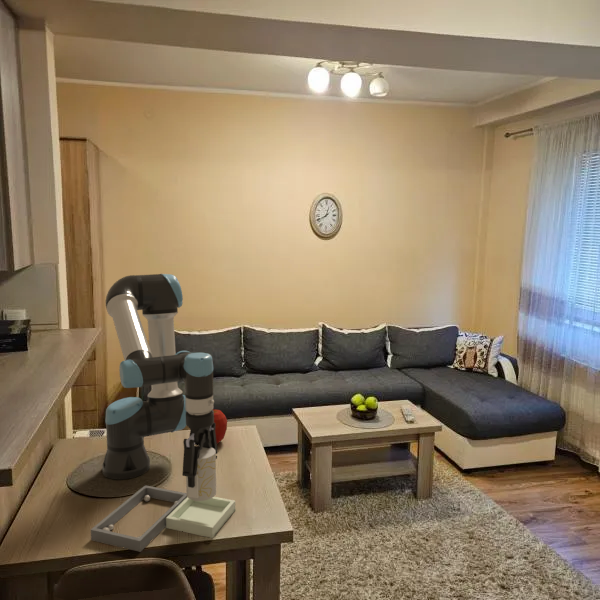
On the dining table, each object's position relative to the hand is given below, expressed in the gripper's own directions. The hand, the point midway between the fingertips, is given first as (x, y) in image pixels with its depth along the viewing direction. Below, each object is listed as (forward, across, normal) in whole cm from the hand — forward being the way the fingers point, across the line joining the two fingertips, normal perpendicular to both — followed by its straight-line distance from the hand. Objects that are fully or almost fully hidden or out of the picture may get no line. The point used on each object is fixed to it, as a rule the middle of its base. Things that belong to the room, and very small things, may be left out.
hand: (201, 488), depth 144 cm
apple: (+9, +46, +20) cm, 51 cm away
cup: (+1, 0, 0) cm, 1 cm away
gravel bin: (+9, -6, +15) cm, 19 cm away
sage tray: (+9, 0, 0) cm, 9 cm away
